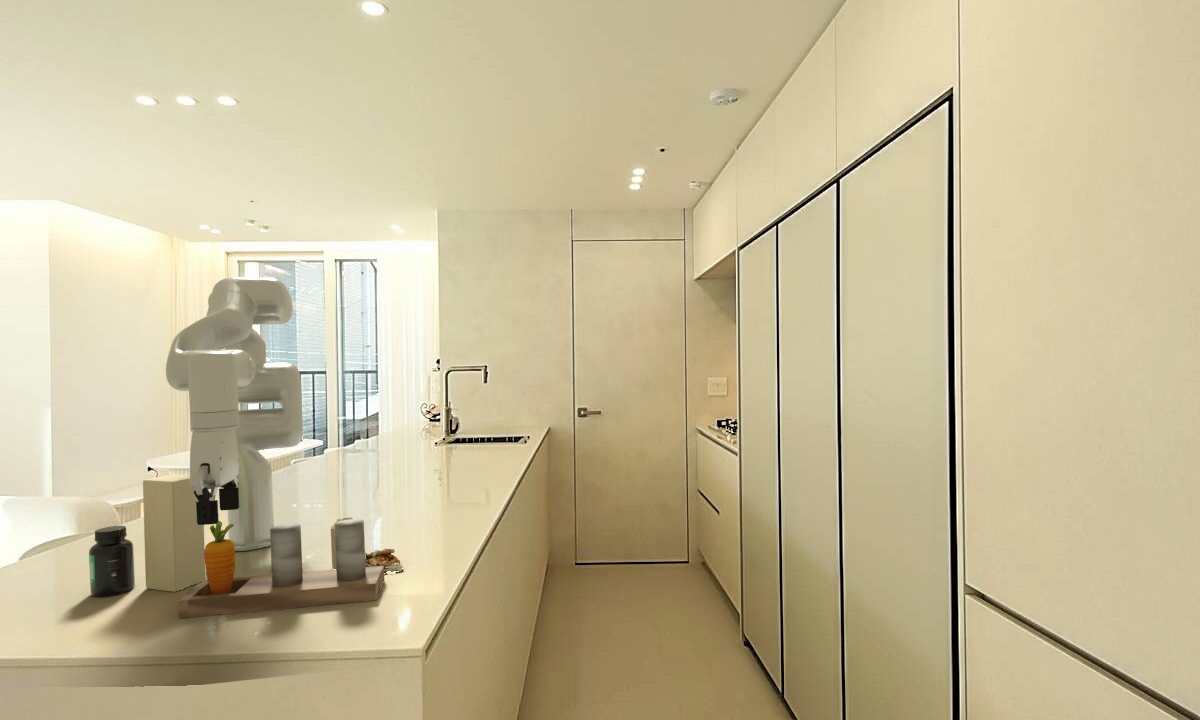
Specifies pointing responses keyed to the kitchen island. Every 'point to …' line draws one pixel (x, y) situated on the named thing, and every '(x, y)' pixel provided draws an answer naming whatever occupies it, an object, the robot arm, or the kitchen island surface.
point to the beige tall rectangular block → (172, 534)
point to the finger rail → (282, 595)
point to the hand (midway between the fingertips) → (219, 516)
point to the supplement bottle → (111, 562)
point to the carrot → (220, 561)
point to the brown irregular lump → (383, 560)
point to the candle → (334, 542)
